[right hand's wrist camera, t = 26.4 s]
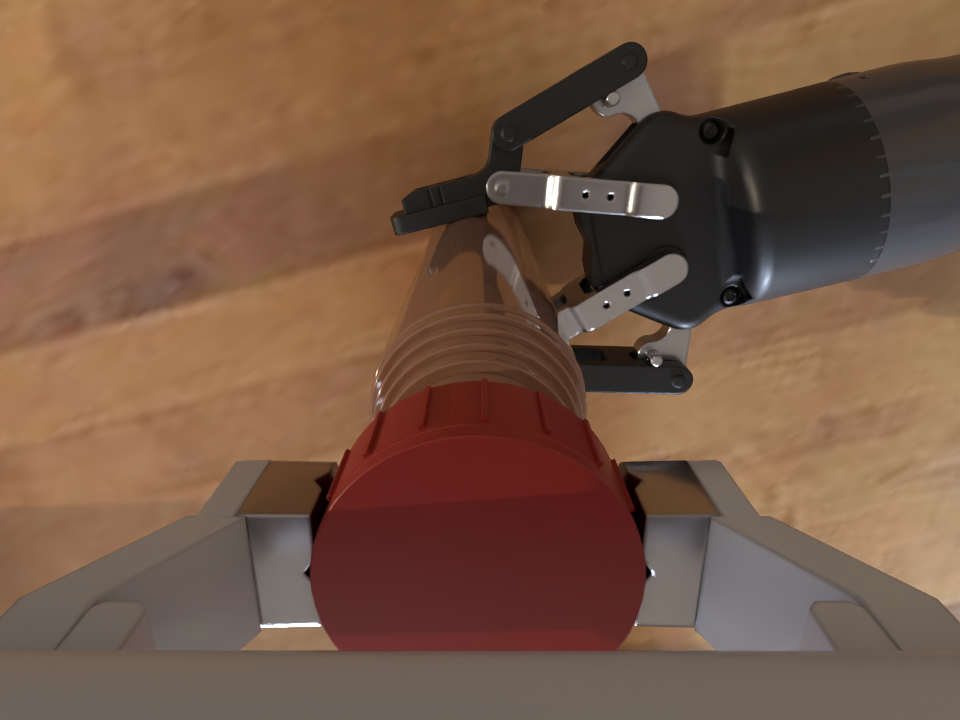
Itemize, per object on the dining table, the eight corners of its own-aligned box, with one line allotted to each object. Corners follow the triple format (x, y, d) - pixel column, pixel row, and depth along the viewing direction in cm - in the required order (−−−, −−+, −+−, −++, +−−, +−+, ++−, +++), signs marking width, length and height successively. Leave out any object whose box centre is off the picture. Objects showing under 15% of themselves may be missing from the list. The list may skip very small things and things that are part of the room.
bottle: (532, 203, 31) (674, 424, 9) (516, 294, 33) (599, 685, 10) (439, 188, 31) (330, 374, 8) (427, 280, 33) (307, 649, 10)
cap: (559, 327, 9) (577, 374, 7) (661, 569, 10) (695, 654, 9) (282, 443, 10) (240, 510, 8) (413, 657, 11) (401, 752, 9)
